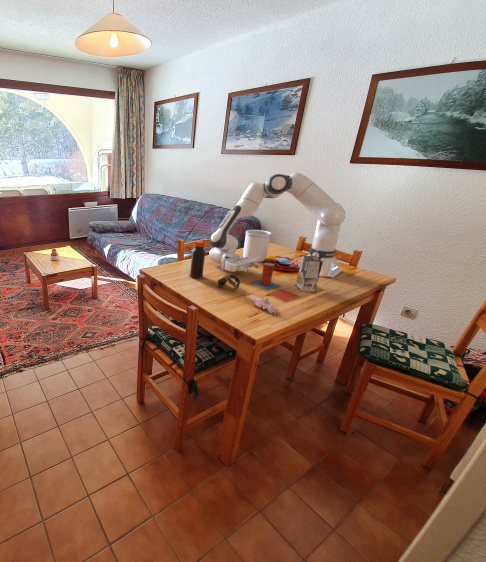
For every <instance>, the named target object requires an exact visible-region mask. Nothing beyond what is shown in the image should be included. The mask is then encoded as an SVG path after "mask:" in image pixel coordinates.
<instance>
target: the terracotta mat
mask: <svg viewBox="0 0 486 562" xmlns="http://www.w3.org/2000/svg"><path fill="white" fill-rule="evenodd" d="M268 295H269V296H271V297H274V298H277V299H279V300H281V301H284V302H287V301H290V300H292V299H295V298H297V297H299V295H297V294H296V293H293V292H290V291H287V290H285V289H279V290H276V291H275V290H274V291H272V292H269V293H268Z"/></svg>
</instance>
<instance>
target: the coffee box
mask: <svg viewBox="0 0 486 562" xmlns="http://www.w3.org/2000/svg"><path fill="white" fill-rule="evenodd" d="M322 263H323V261H321V260H320V259H319V258H317V257H316V256H307V255H302V256H301V261H300V265H299V270H298V274H297V279H296V283H295V284H296V285H297V287H298V288H299V289H300V291H303V292H316V288H317V285H318V282H319V277H320V276H319V274H320V271H321V267H322Z"/></svg>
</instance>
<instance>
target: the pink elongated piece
mask: <svg viewBox="0 0 486 562" xmlns="http://www.w3.org/2000/svg"><path fill="white" fill-rule="evenodd" d="M247 298H249V299H251V301H253V303H254V304H255V305H256V307H258V308H262V309H263V310H267V312H268V313H269V314H273V315H274V316H275V315H276V314H280V311H281V310H279V309H278V308H276V307H275V306H274V305H273V304H271V302H270V299H269V298H268V297H266V298H265V299H263V298H261V297H259V296H257V295H255V294H252V295H249V296H248V295H247Z"/></svg>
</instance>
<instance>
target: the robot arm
mask: <svg viewBox="0 0 486 562" xmlns="http://www.w3.org/2000/svg"><path fill="white" fill-rule="evenodd" d="M284 193H288V194H290V195H292V197H294V198H295V199H296V200H297V201H298V202H299V203H301V204H302V205H303V206H304V207H305V208H306V209H307V210H308V211H309V212H310V213H311V214H312V215H313V216H314V217H315V218H316V219H317V222H316V227H315V230H314V231H315V232H314V235H313V239H312V245H311V246H310V248H309V252H308V254H307V255H306V256H316V257H317V258H319V259H320V260H321V261H323V263H322V267H321V271H320V274H319V277H322V278H323V277H324V278H325V277H327V278H335V277H337V276H338V275H339V274H341V273H342V271H343V270H342V269H341V268H339V264H340V261H339V260H338V258H337V257H336V254H337V253H338V252H339V249H336V246H337V243H338V240H339V236H340V229H341V225H342V223H343V222H344V221H345V219H346V216H347V214H346V210H345V209H344V207H343V206H342V205H341V203H339V202H337V201H335V200H334V199H333V197H331V196H330V195H329V194H328V193H327V192H326V191H325V190H324V189H322V188H321V187H320V186H319V185H318V184H317V183H316V182H314V181H313V180H312V179H311V178H309V177H308V176H306V175H305V174H302V173H301V172H298V171H297V172H293V173H291V174H290V175H288V174H283V173H276V174H273V175H271V176H270V177H269V178H268V179H267V180H266V181H265V182H263V183H261V182H251V183H250V184H249V185H248V186H247V188H245V190H244V192H243V194H242V195H241V197H240V199H239V200H238V202H237V203H236V204H235V205H234V206H232V207H231V208H230V210H229V211H228V212H227V213H226V215H225V217H224V218H223V220H222V221H221V222H220V224H219V226H218V227H217V228H216V229H215V230H214V231H213V232H212V234H211V236H210V239H209V241H210V242H209V243H210V245H211V247H213V248H211V249H210V250H209V253H208V255H209V259H210V261H212V262H213V263H215V264H217V265H220V266H221V270H226V271H228V272H232V273H233V272H238V271H239V272H248V271H249V268H253V267H254V269H261V268H260V267H261V265H260V264H259V263H258V262H257V260H256V259H253V258H249V257H244V258H243V257H241V256H240V255H239V254H236V251H237V249H238V247H239V240H238V238H237V237H235V236H233V235H231V234H229V231H230V230H231V228H232V227H233V225H234V224H235V222H236V221H237V220H239V219H242V218H245V219H246V218H249V217H252V216H254V215H255V214H256V212H257V211H258V209H259V207H260V205H261V203H262V202H263V200H264V199H276V198H278V197H280V196H282V195H283V194H284Z"/></svg>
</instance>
